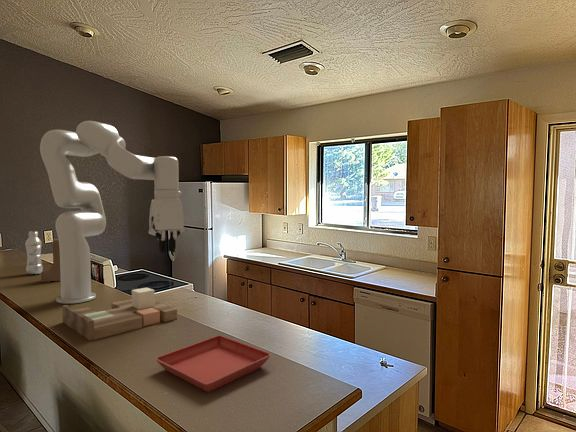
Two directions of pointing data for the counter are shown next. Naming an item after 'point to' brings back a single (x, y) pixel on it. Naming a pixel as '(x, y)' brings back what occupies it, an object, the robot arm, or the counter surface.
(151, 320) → the salmon block
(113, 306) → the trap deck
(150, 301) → the cream cube
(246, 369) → the plant saucer
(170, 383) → the counter surface
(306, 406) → the counter surface
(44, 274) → the wooden block
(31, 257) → the plastic bottle
